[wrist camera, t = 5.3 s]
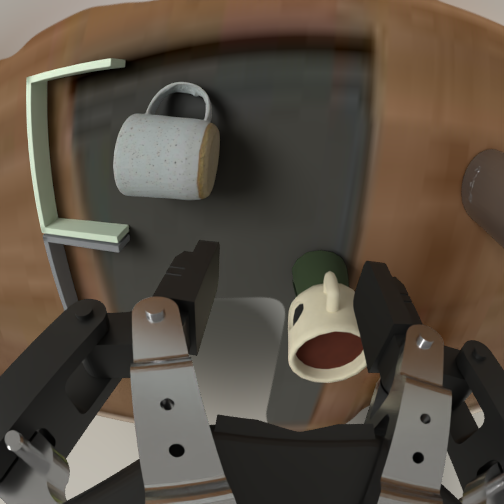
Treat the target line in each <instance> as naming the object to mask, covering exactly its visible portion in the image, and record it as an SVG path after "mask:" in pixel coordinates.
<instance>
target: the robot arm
mask: <svg viewBox="0 0 504 504" xmlns="http://www.w3.org/2000/svg"><path fill="white" fill-rule="evenodd" d="M462 202H463V205H464V208H465V210H466V212H467V214H468V215H469V216H470V217H471V218H472V219H473V220H474V221H475V222H476V223H477V224H479V225H480V226H481V227H482V228H483V229H484V230H485V231H486V232H487V233H488V234H489V235H490V236H491V237H492V238H494V239H495V240H496V241H497V242H498V243H499V244H500V245H501V246H502V247H503V248H504V153H503V152H501V151H498V150H494V149H490V150H485V151H483V152H481V153H479V154H478V155H477V156H476V157H474V159H473V160H472V161H471V162H470V164H469V166H468V168H467V169H466V172H465V175H464V178H463V182H462ZM219 251H220V245H219V242H213V241H205V240H199V242H198V243H197V245H196V247H195V249H194V251H193V252H187V251H184V252H182V253H181V254H179V255H178V256H176V257H175V258H174V260H173V262H172V263H171V265H170V267H169V268H168V270H167V272H166V274H165V275H164V277H163V279H162V281H161V282H160V284H159V286H158V288H157V289H156V291H155V293H154V295H153V296H152V297H149V298H146V299H143V300H141V301H140V302H138V303H137V304H136V305H135V306H134V308H133V310H132V311H131V312H122V313H107V311H106V308H105V306H104V304H103V303H101V302H100V301H98V300H94V299H84V300H80V301H77V302H75V303H73V304H72V305H71V306H69V307H68V308H67V309H66V310H65V311H64V312H63V313H62V314H61V315H60V316H59V317H58V318H57V319H56V320H55V321H54V322H53V323H52V324H51V325H50V326H49V327H47V328H46V329H45V330H44V331H43V332H42V333H41V334H40V335H39V336H38V337H37V338H36V339H35V340H34V341H33V342H32V343H31V345H30V346H29V347H28V348H27V349H26V350H25V351H24V352H23V353H22V354H21V355H20V356H19V357H18V358H17V359H16V360H15V361H14V362H13V363H12V364H11V365H10V367H9V368H8V369H7V370H6V371H5V372H4V373H3V374H2V375H1V376H0V498H1V499H2V500H3V501H4V502H5V503H6V504H504V370H503V369H502V367H501V366H500V364H499V363H498V361H497V360H496V358H495V357H494V355H493V354H492V353H491V351H490V350H489V349H488V348H487V347H486V346H485V345H484V344H482V343H480V342H478V341H475V340H470V341H467V342H466V343H465V344H464V346H463V347H462V349H461V350H458V349H454V348H451V347H447V346H444V344H443V340H442V338H441V336H440V335H439V334H438V333H437V332H436V331H435V330H433V329H432V328H430V327H428V326H425V325H423V324H422V322H421V320H420V317H419V315H418V313H417V311H416V309H415V307H414V305H413V303H412V301H411V299H410V296H408V292H407V290H406V288H405V286H404V285H403V284H402V283H401V282H400V281H399V280H398V279H397V278H396V277H392V276H391V273H390V271H389V269H388V267H387V265H386V264H385V263H380V262H372V261H366V262H365V264H364V266H363V269H362V273H361V276H360V279H359V282H358V285H357V288H356V291H355V294H354V299H353V309H354V313H355V317H356V321H357V325H358V329H359V333H360V338H361V342H362V346H363V351H364V355H365V360H366V364H367V369H368V373H380V379H379V381H378V382H377V384H376V387H375V390H374V394H373V397H372V400H371V404H370V407H369V410H368V413H367V416H366V420H365V422H364V424H337V425H333V426H329V427H324V428H319V429H314V430H309V431H304V432H296V431H292V430H288V429H285V428H282V427H278V426H275V425H272V424H269V423H265V422H262V421H259V420H254V419H245V418H238V417H230V416H224V415H217V420H216V425H209V423H208V420H207V416H206V413H205V409H204V405H203V402H202V398H201V394H200V391H199V386H198V383H197V379H196V375H195V371H194V367H193V363H192V359H191V357H189V355H188V354H190V355H196V356H197V354H198V351H199V348H200V345H201V341H202V338H203V335H204V331H205V328H206V324H207V321H208V318H209V315H210V311H211V308H212V305H213V302H214V298H215V295H216V292H217V287H218V278H219ZM122 378H131V389H132V401H133V412H134V421H135V429H136V437H137V444H138V451H139V458H140V459H138V460H137V461H135V462H133V463H132V464H130V465H129V466H127V467H126V468H124V469H122V470H121V471H119V472H117V473H116V474H114V475H112V476H111V477H109V478H107V479H106V480H104V481H102V482H101V483H99V484H97V485H95V486H94V487H92V488H90V489H88V490H86V491H85V492H83V493H81V494H79V495H77V496H75V497H74V498H72V499H70V500H68V501H67V500H66V497H65V487H66V485H67V483H68V480H69V475H70V474H69V473H70V470H69V465H68V462H67V460H66V458H67V456H68V455H69V453H70V452H71V450H72V449H73V447H74V446H75V444H76V443H77V442H78V440H79V439H80V437H81V436H82V434H83V433H84V432H85V430H86V429H87V427H88V426H89V424H90V423H91V421H92V420H93V419H94V417H95V416H96V414H97V413H98V411H99V410H100V409H101V407H102V406H103V404H104V403H105V402H106V400H107V399H108V397H109V396H110V395H111V393H112V392H113V390H114V389H115V388H116V386H117V385H118V383H119V382H120V381H121V379H122ZM472 392H473V394H474V396H475V398H476V399H477V401H478V403H479V405H480V407H481V409H482V410H483V412H484V417H485V419H484V423H483V425H482V426H481V427H480V428H478V426H477V424H476V422H475V420H474V418H473V416H472V414H471V413H470V411H469V409H468V407H467V405H466V403H465V400H466V398H467V397H468V396H469V395H470V394H471V393H472ZM447 452H448V454H449V456H450V459H451V461H452V464H453V466H454V469H455V471H456V473H457V476H458V479H459V481H460V484H461V486H462V489H463V497H461V498H460V499H459V500H458V499H457V498H456V497H455V496H454V495H453V494H451V492H450V491H448V490H447V489H446V488H445V487H444V486H443V485H442V484H441V482H442V477H443V471H444V466H445V460H446V453H447Z"/></svg>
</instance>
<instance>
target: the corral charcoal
mask: <svg viewBox="0 0 504 504" xmlns="http://www.w3.org/2000/svg"><path fill="white" fill-rule="evenodd" d="M43 239H44V243H45V248H46V251H47V255H48V259H49V263H50V266H51V270H52V273H53V277H54V280H55V283H56V286H57V290H58V293H59V296H60V299H61V302H62V305H63V308H64V310H66V309H67V308H68V307H69V306H71V305H72V304H73V303H75V302H77V301H78V298H77V295H76V291H75V288H74V284H73V281H72V277H71V273H70V270H69V266H68V262H67V258H66V253H65V249H64V245H63V244H65V245H72V246H79V247H85V248H92V249H99V250H105V251H112V252H120V251H121V250H122V249H123V248H124V246H125V245H126V244H127V243H128V242H129V241H130V235H129V234H126V235H125V236H124V237H123V238H122V239H121V240H120V241H119V242H118V243H113V242H106V241H98V240H91V239H83V238H76V237H69V236H61V235H54V234H47V233H45V234H44V235H43Z"/></svg>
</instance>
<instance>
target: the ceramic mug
mask: <svg viewBox="0 0 504 504" xmlns="http://www.w3.org/2000/svg"><path fill="white" fill-rule="evenodd" d="M175 92H182V93H189V94H193V95H194V96H201V97H203V99H204V100H205V103H206V114H205V118H204V120H200V119H193V118H180V117H170V116H162V115H154V114H155V111H156V109H157V107H158V106H159V104H160V103H161V101H162V100H163V99H164V98H165V97H166V96H168V95H169V94H171V93H175ZM211 118H212V106H211V102H210V99H209V97H208V95H207V93H206V92H205V91H204V90H203V89H202V88H201V87H199V86H198V85H195V84H192V83H187V82H176V83H172V84H169V85H167V86H166V87H164V88H163V89H161V90H160V91H159V92H158V93H157V94H156V95H155V97H154V98H153V99H152V101H151V103H150V105H149V106H148V109H147V111H146V113H145V114H134V115H131V116H130V117H129V118H128V119H127V120H126V121H125V123H124V124H123V126H122V128H121V130H120V132H119V135H118V138H117V142H116V146H115V151H114V163H113V167H114V176H115V181H116V185H117V187H118V189H119V190H120V192H121V193H122V194H124V195H127V196H143V197H156V198H173V199H182V200H200V199H204V198H206V197H208V196H209V195H210V193H211V191H212V189H213V186H214V182H215V177H216V172H217V166H218V159H219V147H220V134H219V130H218V128H217V127H216V126H215V125H214V124H213V123H210V122H211Z"/></svg>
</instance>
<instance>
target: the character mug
mask: <svg viewBox="0 0 504 504" xmlns="http://www.w3.org/2000/svg"><path fill="white" fill-rule="evenodd" d="M292 274H293V279H294V282H293V287H294V291H295V295H296V298H295V299H294V301H293V302H292V303H291V306H290V309H289V315H288V360H289V365H290V367H291V369H292V370H293V372H295V373H296V374H297V375H299V376H300V377H301V378H304V379H307V380H310V381H313V382H323V383H331V382H336V381H342V380H345V379H347V378H350V377H352V376H354V375H356V374H358V373H359V372H360V371H362V370H363V369H364V368H365V367H366V366H367V364H366V360H365V355H364V351H363V346H362V342H361V338H360V333H359V329H358V325H357V321H356V317H355V313H354V309H353V299H354V294H355V292H354V290H353V289H351V288H349V282H348V273H347V267H346V265H345V263H344V261H343V259H342V258H341V257H339V256H338V255H336V254H334V253H333V252H327V251H321V250H320V251H313V252H307V253H306V254H304V255H303V256H302V257H300V258H299V259H297V261H296V263H295V265H294V266H293V268H292ZM293 279H292V281H293Z"/></svg>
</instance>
